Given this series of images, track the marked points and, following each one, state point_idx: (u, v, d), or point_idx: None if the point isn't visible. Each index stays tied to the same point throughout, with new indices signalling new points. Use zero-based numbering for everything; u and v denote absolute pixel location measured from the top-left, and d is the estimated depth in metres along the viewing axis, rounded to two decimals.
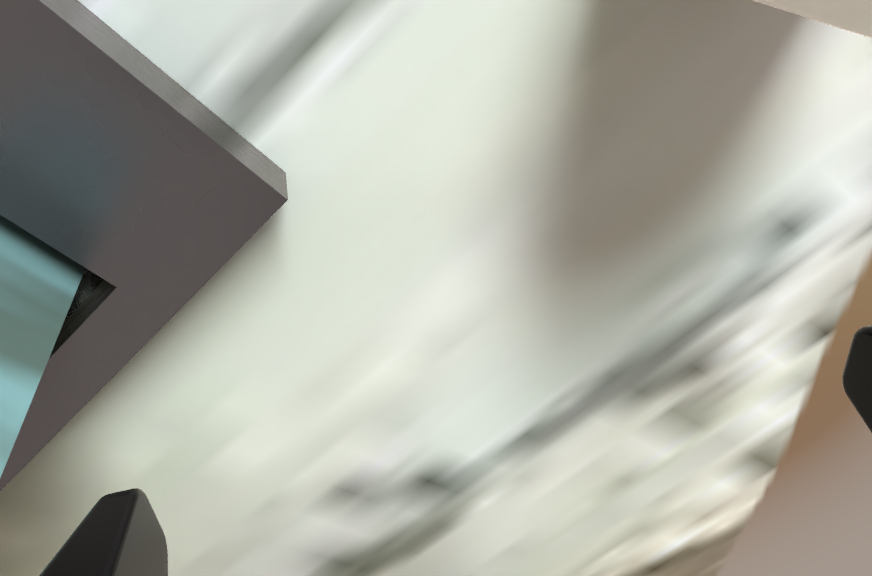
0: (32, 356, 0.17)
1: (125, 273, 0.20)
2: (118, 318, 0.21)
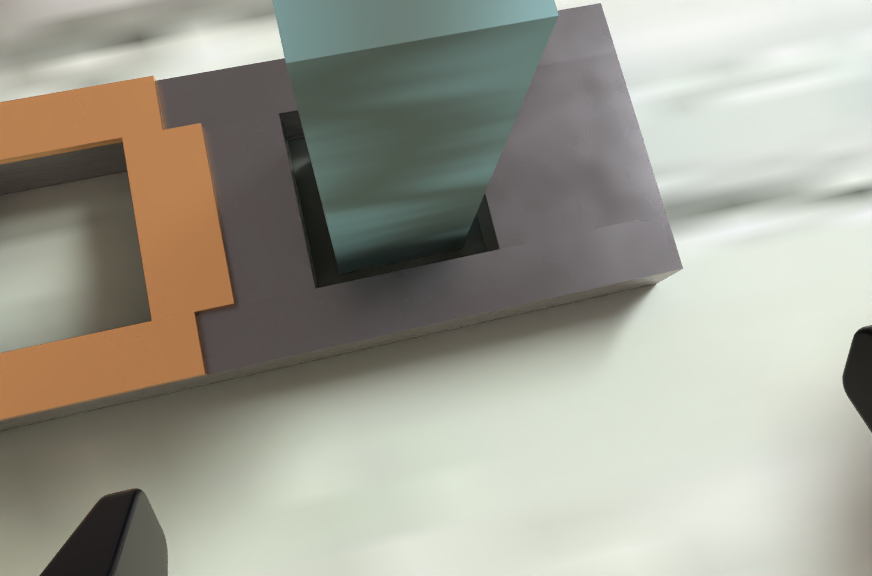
0: None
1: (516, 242, 0.21)
2: (477, 276, 0.21)
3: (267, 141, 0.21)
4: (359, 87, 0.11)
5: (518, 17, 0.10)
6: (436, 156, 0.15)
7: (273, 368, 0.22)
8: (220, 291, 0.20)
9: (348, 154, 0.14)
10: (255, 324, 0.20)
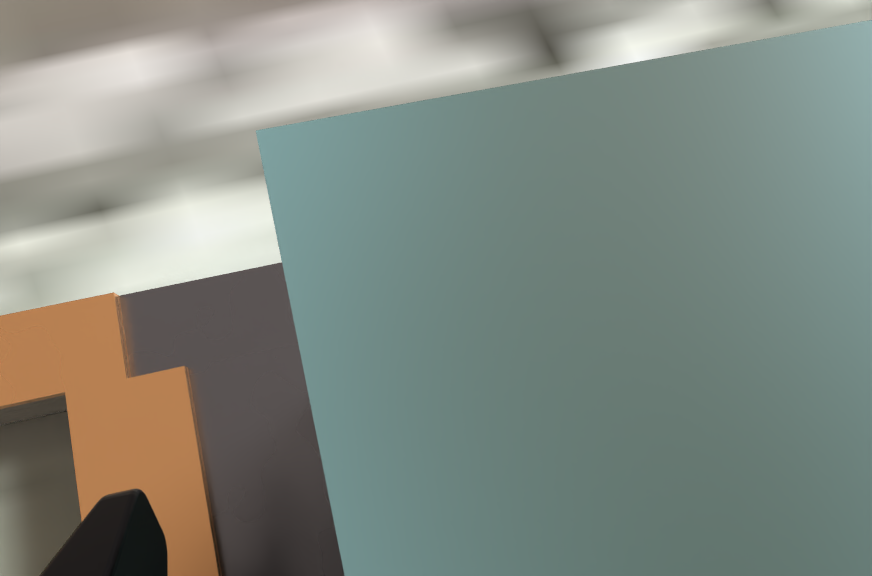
0: None
1: None
2: None
3: (283, 387, 0.14)
4: None
5: None
6: None
7: None
8: None
9: None
10: None
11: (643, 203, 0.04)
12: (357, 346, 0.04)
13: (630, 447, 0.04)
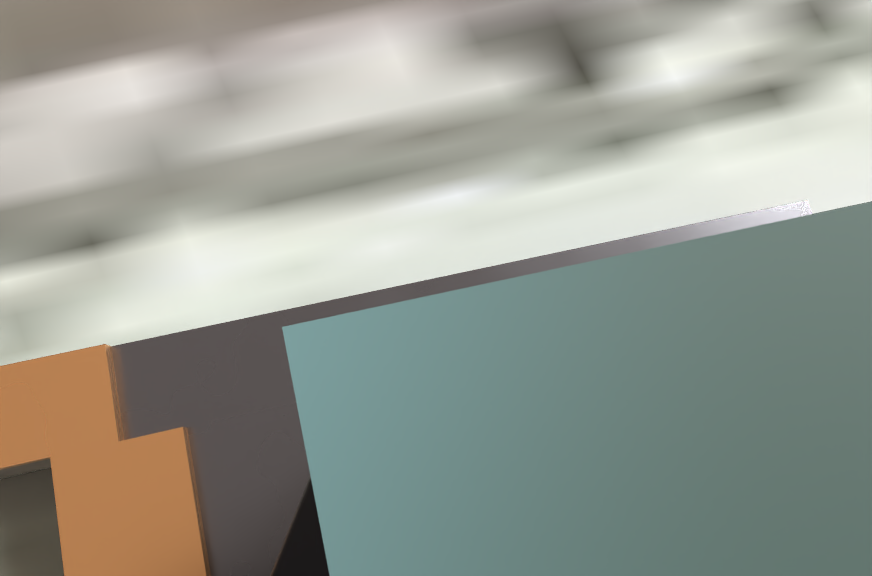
0: None
1: None
2: None
3: (292, 449, 0.13)
4: None
5: None
6: None
7: None
8: None
9: None
10: None
11: None
12: None
13: None
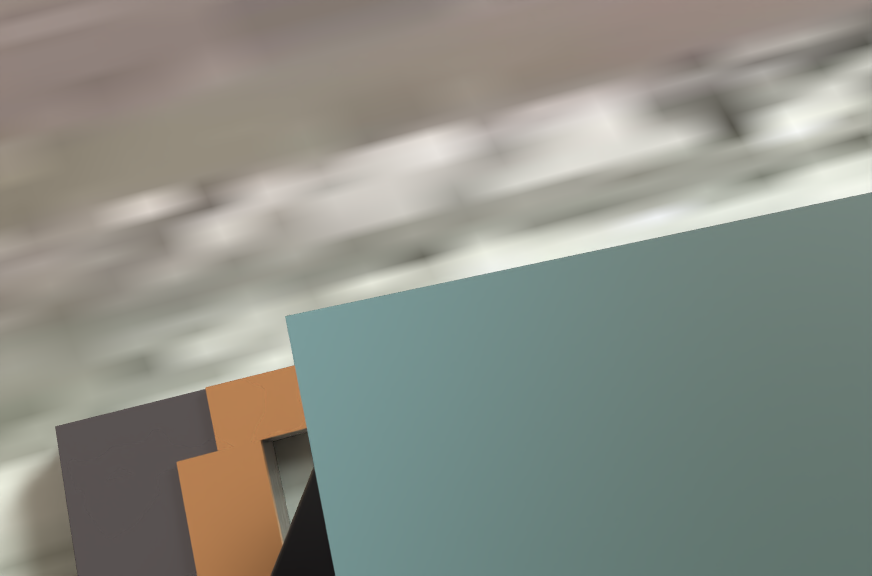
0: None
1: None
2: None
3: None
4: None
5: None
6: None
7: None
8: None
9: None
10: None
11: None
12: None
13: None
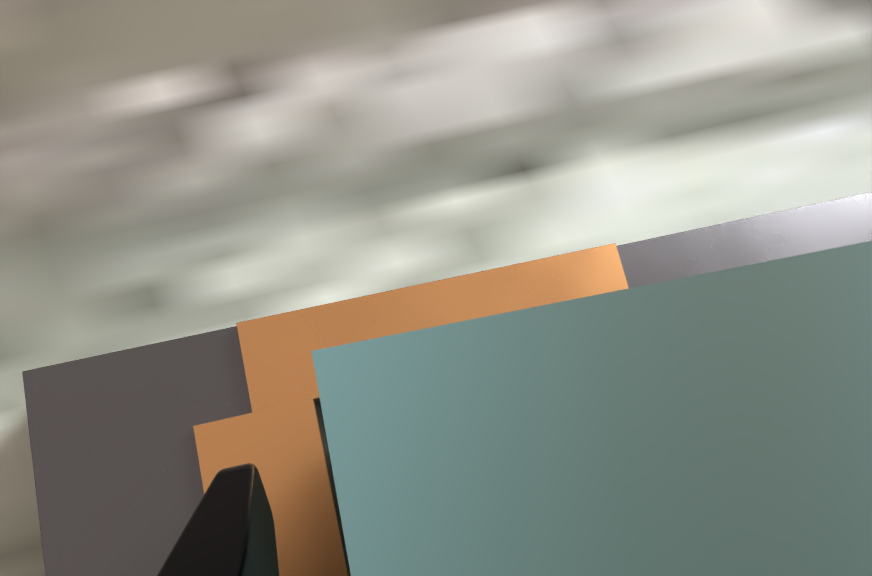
0: None
1: None
2: None
3: None
4: None
5: None
6: None
7: None
8: None
9: None
10: None
11: (780, 443, 0.03)
12: None
13: None
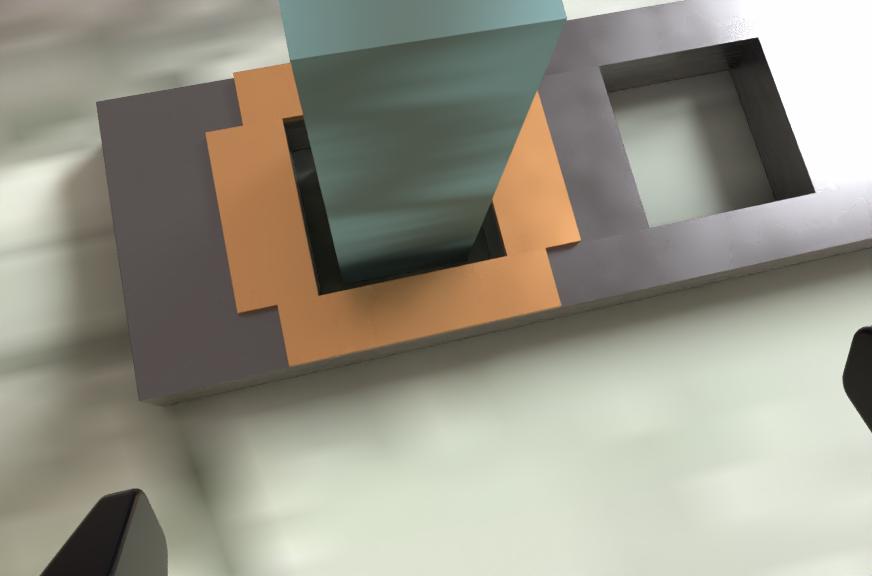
0: None
1: (830, 187, 0.22)
2: (797, 218, 0.22)
3: (591, 91, 0.22)
4: (364, 88, 0.11)
5: (526, 19, 0.10)
6: (441, 163, 0.15)
7: (591, 309, 0.23)
8: (567, 229, 0.21)
9: (353, 158, 0.13)
10: (597, 261, 0.21)
11: None
12: None
13: None
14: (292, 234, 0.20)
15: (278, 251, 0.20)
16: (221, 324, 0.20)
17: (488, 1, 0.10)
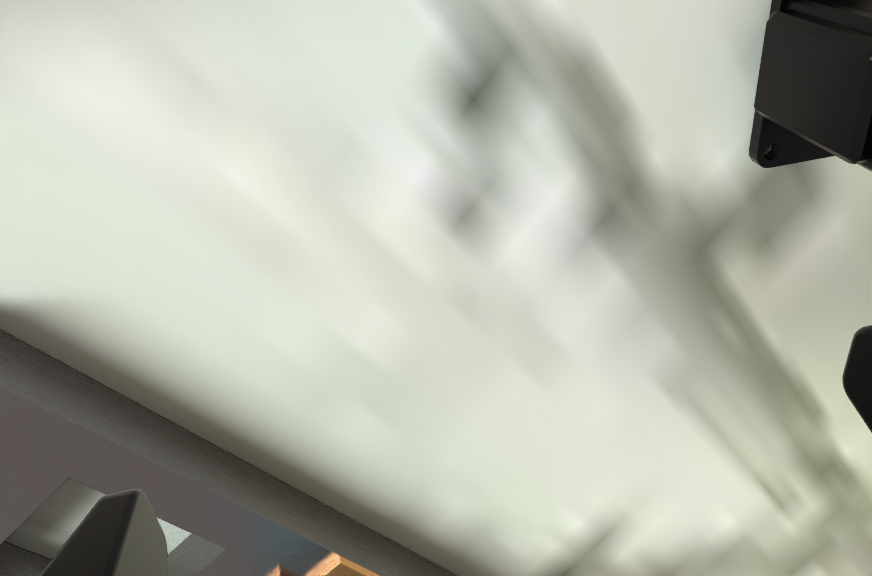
0: None
1: (49, 471, 0.20)
2: (110, 476, 0.21)
3: None
4: None
5: None
6: None
7: (302, 496, 0.25)
8: None
9: None
10: (283, 557, 0.24)
11: None
12: None
13: None
14: None
15: None
16: None
17: None
